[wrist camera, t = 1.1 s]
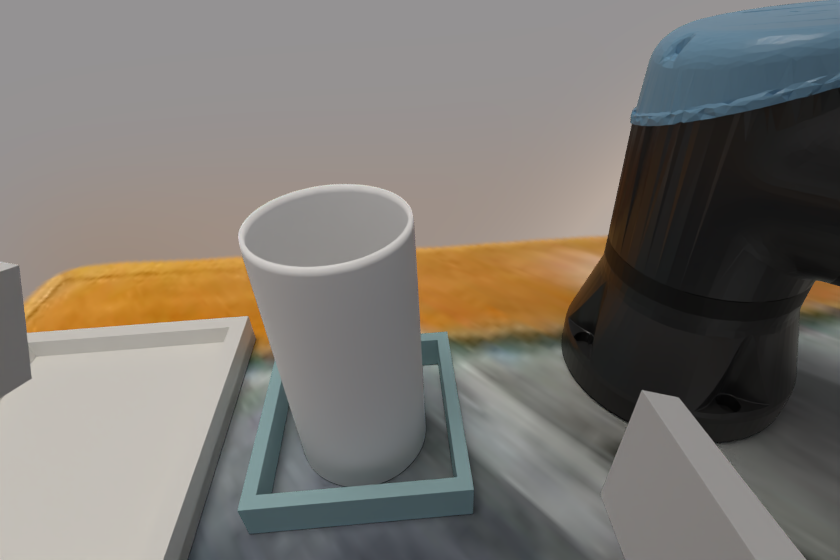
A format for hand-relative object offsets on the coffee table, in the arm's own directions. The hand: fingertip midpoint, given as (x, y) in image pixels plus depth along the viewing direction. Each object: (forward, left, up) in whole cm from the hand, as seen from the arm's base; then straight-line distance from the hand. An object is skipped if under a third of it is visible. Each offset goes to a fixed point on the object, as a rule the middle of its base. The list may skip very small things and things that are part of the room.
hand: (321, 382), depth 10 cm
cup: (-8, -10, -19) cm, 23 cm away
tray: (+5, -23, -19) cm, 30 cm away
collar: (-8, -10, -19) cm, 23 cm away
